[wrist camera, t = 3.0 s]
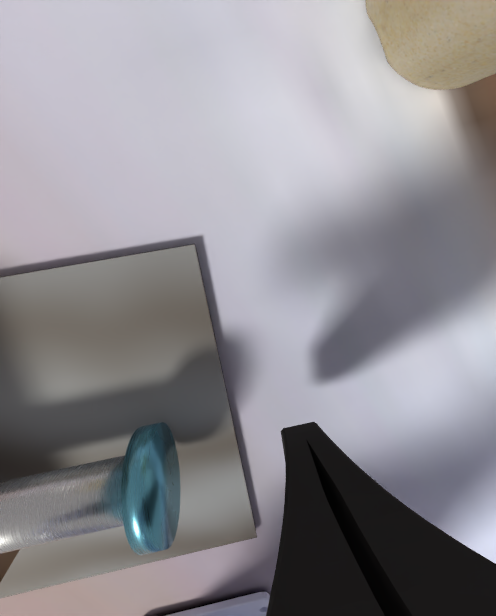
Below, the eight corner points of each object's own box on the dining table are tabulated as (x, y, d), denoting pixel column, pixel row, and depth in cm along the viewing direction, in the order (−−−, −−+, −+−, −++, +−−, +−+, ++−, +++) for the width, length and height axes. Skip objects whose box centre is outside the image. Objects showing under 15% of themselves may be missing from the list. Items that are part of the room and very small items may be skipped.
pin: (184, 473, 13) (171, 579, 9) (-85, 532, 12) (-222, 674, 8) (162, 401, 12) (136, 489, 8) (-140, 462, 11) (-329, 591, 7)
